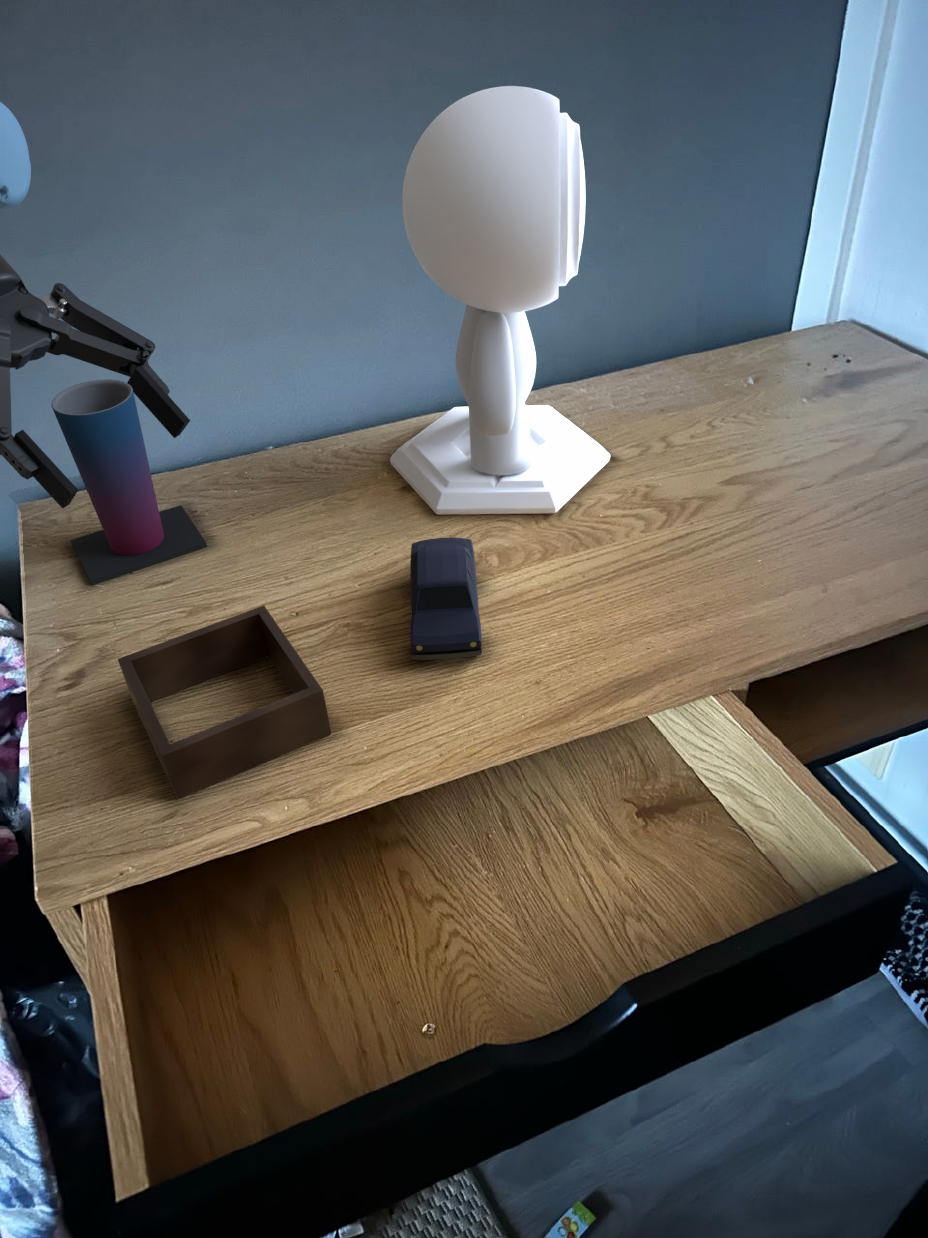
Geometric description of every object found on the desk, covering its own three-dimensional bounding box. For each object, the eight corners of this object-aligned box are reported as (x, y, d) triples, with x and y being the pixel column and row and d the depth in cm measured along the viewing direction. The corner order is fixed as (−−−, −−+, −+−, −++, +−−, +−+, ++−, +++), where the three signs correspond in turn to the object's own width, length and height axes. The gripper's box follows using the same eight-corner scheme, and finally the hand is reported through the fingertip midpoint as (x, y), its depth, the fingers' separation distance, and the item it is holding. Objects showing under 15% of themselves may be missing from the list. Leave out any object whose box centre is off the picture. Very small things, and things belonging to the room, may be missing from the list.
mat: (91, 585, 89) (89, 581, 89) (71, 544, 95) (70, 539, 94) (207, 546, 93) (206, 542, 93) (182, 508, 99) (181, 504, 98)
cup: (168, 514, 97) (128, 373, 88) (178, 550, 92) (136, 404, 83) (98, 531, 95) (49, 388, 86) (103, 568, 90) (52, 421, 81)
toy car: (411, 672, 78) (405, 624, 75) (411, 565, 89) (406, 518, 86) (485, 667, 78) (482, 618, 75) (475, 560, 89) (473, 514, 86)
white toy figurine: (615, 513, 94) (636, 110, 72) (378, 515, 96) (328, 123, 74) (605, 415, 109) (620, 59, 87) (401, 419, 111) (365, 71, 89)
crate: (177, 800, 69) (161, 755, 66) (133, 701, 77) (117, 658, 74) (331, 734, 73) (323, 689, 70) (273, 647, 81) (264, 604, 78)
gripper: (57, 252, 95) (207, 423, 98) (-185, 350, 78) (5, 552, 81) (79, 200, 89) (238, 383, 92) (-176, 294, 73) (28, 513, 76)
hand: (129, 463), depth 87 cm, fingers open, 13 cm apart
